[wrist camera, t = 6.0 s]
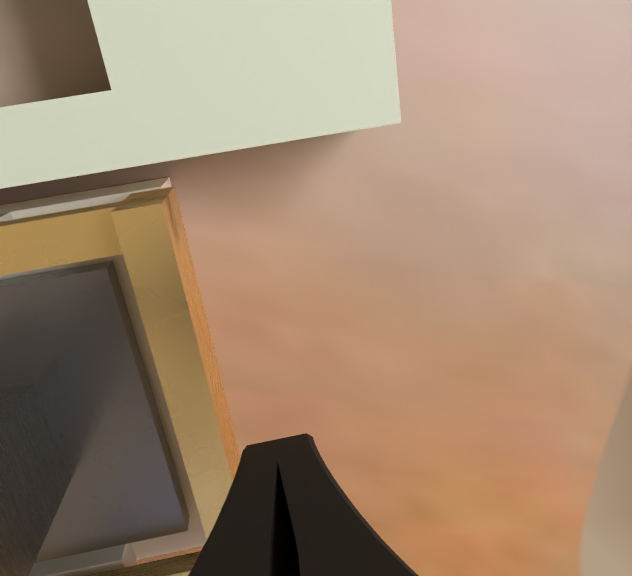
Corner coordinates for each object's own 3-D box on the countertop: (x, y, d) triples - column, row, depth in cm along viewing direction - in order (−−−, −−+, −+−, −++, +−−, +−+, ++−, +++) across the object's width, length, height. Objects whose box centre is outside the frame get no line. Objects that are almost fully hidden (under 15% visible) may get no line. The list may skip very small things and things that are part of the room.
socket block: (249, 501, 18) (249, 559, 16) (-87, 571, 17) (-136, 642, 15) (169, 176, 14) (155, 193, 12) (-271, 250, 13) (-374, 282, 11)
